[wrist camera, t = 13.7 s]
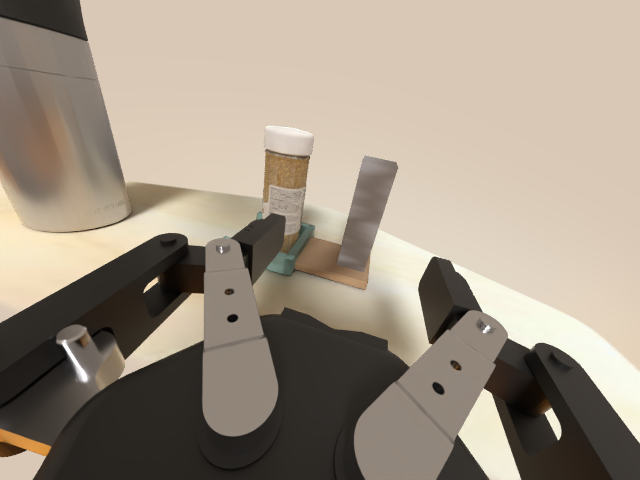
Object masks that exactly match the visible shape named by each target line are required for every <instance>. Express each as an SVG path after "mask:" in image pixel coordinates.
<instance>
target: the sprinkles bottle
mask: <svg viewBox="0 0 640 480" xmlns="http://www.w3.org/2000/svg"><path fill="white" fill-rule="evenodd" d="M313 141H314V136H313V134H312V133H310V132H307V131H304V130H300V129H295V128H291V127H284V126H267V127H266V128H265V136H264V147H265V148H266V150H265V152H266V156H265V178H264V190H263V205H262V219H265V218H266V217H267V216H269V215H270V214H271V213H275V214H279V215H283V216H285V217H286V224H285V234H284V242H283V246H282V248H281V250H280V252H282V253H286V254H288V252H289V251H290V250H291V248H292V247H293V246H294V244H295V243H296V242H297V240H298V236H299V230H300V227H301V220H302V213H303V205H304V198H305V191H306V178H307V170H308V164H309V159H310V156H309V155H311V154H312V148H313Z"/></svg>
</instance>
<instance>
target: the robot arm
mask: <svg viewBox="0 0 640 480" xmlns="http://www.w3.org/2000/svg"><path fill="white" fill-rule="evenodd" d="M87 41H88V39H87V35H86V31H85V27H84V23H83V18H82V13H81V6H80V0H0V182H1V184H2V186H3V188H4V190H5V192H6V194H7V196H8V198H9V200H10V201H11V203H12V205H13V207H14V209H15V211H16V213H17V215H18V217H19V218H20V220H21V222H22V224H23V225H24V226H26V227H28V228H31V229H34V230H39V231H48V232H70V231H81V230H87V229H94V228H98V227H102V226H106V225H110V224H113V223H116V222H118V221H120V220H122V219H124V218H126V217H127V216H128V215H129V214H130V213H131V211H132V209H131V205H130V201H129V197H128V193H127V189H126V185H125V181H124V177H123V173H122V169H121V165H120V161H119V158H118V154H117V150H116V146H115V142H114V138H113V134H112V130H111V127H110V123H109V119H108V115H107V111H106V107H105V104H104V100H103V96H102V92H101V88H100V84H99V81H98V77H97V73H96V69H95V65H94V62H93V58H92V54H91V50H90V46H89V43H88V42H87ZM285 224H286V217H285V216H283V215H279V214H275V213H271V214H270V215H269V216H267V217H266V218H265V219H258V220H255V221H253V222H251V223H250V224H249V225H248V226H246V227H245V228H244V229H242V230H241V231H240V232H238V233H237V234H236V235H234V236H233V237H232V238H230V239H228V238H220V239H215V240H212V241H210V242H209V243H208V244H207V245H206V247H203V246H191V245H188V239H187V237H186V236H184V235H182V234H178V233H167V234H161V235H158V236H156V237H154V238H152V239H150V240H148V241H146V242H145V243H143V244H141V245H139V246H137V247H136V248H134V249H132V250H130V251H128V252H127V253H125V254H123V255H121V256H119V257H118V258H116V259H114V260H112V261H111V262H109V263H107V264H105V265H103V266H102V267H100V268H98V269H96V270H94V271H93V272H91V273H89V274H87V275H85V276H84V277H82V278H80V279H78V280H77V281H75V282H73V283H71V284H69V285H68V286H66V287H64V288H62V289H60V290H59V291H57V292H55V293H53V294H51V295H50V296H48V297H46V298H44V299H43V300H41V301H39V302H37V303H35V304H34V305H32V306H30V307H28V308H26V309H25V310H23V311H21V312H19V313H17V314H16V315H14V316H12V317H10V318H9V319H7V320H5V321H3V322H1V323H0V457H8V456H13V455H16V454H19V453H22V452H24V451H26V450H29V451H32V452H35V453H37V454H40V455H43V456H46V458H45V460H44V462H43V463H42V465H41V467H40V469H39V470H38V472H37V474H36V475H35V477H34V478H33V480H489V478H488V477H487V475H486V474H485V473H484V471H483V470H482V468H481V467H480V465H479V464H478V463H477V461H476V460H475V458H474V457H473V456H472V454H471V453H470V451H469V450H468V448H467V447H466V446H465V444H464V443H463V441H462V440H461V439H460V437H459V436H458V433H459V431H460V429H461V427H462V425H463V424H464V422H465V420H466V418H467V416H468V415H469V413H470V411H471V409H472V407H473V406H474V404H475V402H476V400H477V399H478V397H479V395H480V393H481V391H482V390H483V388H484V389H486V390H487V391H489V392H491V393H492V395H493V398H494V401H495V404H496V407H497V410H498V413H499V416H500V419H501V422H502V425H503V428H504V430H505V433H506V436H507V439H508V442H509V445H510V448H511V451H512V454H513V457H514V460H515V463H516V466H517V468H518V471H519V474H520V477H521V480H640V443H639V442H638V441H637V439H636V438H635V437H634V436H633V434H632V433H631V432H630V430H629V429H628V428H627V426H626V425H625V424H624V422H623V421H622V420H621V418H620V417H619V416H618V414H617V413H616V412H615V410H614V409H613V408H612V406H611V405H610V404H609V402H608V401H607V400H606V398H605V397H604V396H603V394H602V393H601V392H600V390H599V389H598V388H597V386H596V385H595V384H594V382H593V381H592V380H591V378H590V377H589V376H588V374H587V373H586V372H585V370H584V369H583V368H582V367H581V366H580V365H579V364H578V363H577V362H576V361H575V360H574V359H573V358H572V357H570V356H569V355H568V354H566V353H565V352H563V351H561V350H560V349H558V348H556V347H554V346H551V345H549V344H545V343H537V344H536V345H535V346H534V347H533V348H532V349H531V350H530V349H528V348H526V347H524V346H522V345H520V344H518V343H516V342H514V341H512V340H510V339H508V334H507V332H506V330H505V328H504V327H503V326H502V325H501V324H500V323H499V322H498V321H497V320H495V319H494V318H492V317H491V316H489V315H487V314H485V313H483V312H482V310H481V308H480V306H479V304H478V302H477V300H476V298H475V296H474V295H473V293H472V291H471V289H470V287H469V285H468V283H467V281H466V280H465V279H464V278H463V277H462V276H461V275H460V274H459V273H457V272H455V269H454V267H453V265H452V263H451V261H449V260H446V259H442V258H438V257H433V258H432V259H431V260H430V262H429V264H428V266H427V268H426V270H425V272H424V274H423V276H422V278H421V280H420V283H419V288H418V291H419V296H420V301H421V306H422V311H423V316H424V321H425V326H426V330H427V335H428V340H429V343H430V344H433V345H432V346H431V347H430V348H429V349H428V350H427V351H426V352H425V353H424V354H423V355H422V356H421V357H420V358H419V359H418V360H417V361H416V362H415V363H414V364H413V365H412V366H411V367H410V368H409V366H408V365H407V364H406V363H405V362H404V361H402V360H401V359H400V358H399V357H398V356H396V355H395V354H393V353H392V352H390V351H389V350H388V341H387V340H384V339H381V338H378V337H375V336H372V335H369V334H366V333H363V332H356V331H346V330H336V329H332V328H330V327H329V326H327V325H325V324H323V323H322V322H320V321H318V320H317V319H315V318H313V317H311V316H310V315H307V314H304V313H301V312H298V311H295V310H292V309H288V308H284V310H283V312H282V314H281V315H278V314H271V315H263V316H259V313H258V309H257V304H256V300H255V296H254V292H253V287H252V286H253V284H254V283H255V282H256V281H257V279H258V278H259V277H260V276H261V274H262V273H263V272H264V270H265V269H266V268H267V267H268V265H269V264H270V263H271V262H272V260H273V259H274V258H275V257H276V255H277V254H278V253H279V252H280V250H281V248H282V246H283V242H284V234H285ZM156 277H157V278H158V283H156V284H155V285H154V286H152V287H151V288H150V289H149V290H147V291H146V292H145V293H144V294H143V292H144V289H145V287H146V286H147V285H148V283H150V282H151V281H152V280H153V279H155V278H156ZM192 293H202V294H204V340H203V341H201V342H199V343H197V344H195V345H192V346H190V347H188V348H186V349H183V350H181V351H179V352H177V353H175V354H172V355H170V356H168V357H166V358H164V359H161V360H159V361H157V362H155V363H152V364H150V365H148V366H146V367H144V368H141V369H139V370H137V371H135V372H132V373H130V374H128V375H126V376H124V377H122V378H120V379H118V378H119V377H120V376H121V374H122V372H123V370H124V368H125V360H126V359H127V358H128V357H129V356H130V355H131V354H132V353H133V352H134V351H135V350H136V349H137V348H138V347H139V346H140V345H141V344H142V343H143V342H144V341H145V340H146V339H147V338H148V337H149V336H150V335H151V334H152V333H153V332H154V331H155V330H156V329H157V328H158V327H159V326H160V325H161V324H162V323H163V322H164V321H165V320H166V319H167V318H168V317H169V316H170V315H171V314H172V313H173V312H174V311H175V310H176V309H177V308H178V307H179V306H180V305H181V304H182V303H183V302H184V301H185V300H186V299H187V298H188V297H189V296H190V295H191V294H192ZM550 408H552V409H553V411H554V413H555V415H556V416H557V418H558V420H559V422H560V425H561V430H562V433H561V437H560V439H559V440H558V439H557V437H556V435H555V433H554V431H553V429H552V427H551V425H550V423H549V422H548V420H547V418H546V416H545V414H544V413H545V412H546V411H548V410H549V409H550Z"/></svg>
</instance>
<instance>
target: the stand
mask: <svg viewBox="0 0 640 480" xmlns="http://www.w3.org/2000/svg"><path fill="white" fill-rule="evenodd" d="M397 169H398V166H397V163H396V162H392V161H388V160H383V159H378V158H373V157H368V156H365V157H364V158H363V160H362V164H361V168H360V172H359V177H358V180H357V184H356V189H355V192H354V196H353V201H352V205H351V209H350V213H349V217H348V221H347V225H346V229H345V233H344V237H343V241H342V245H339V244H336V243H332V242H328V241H324V240H321V239H317V238H313V234H314V229H315V226H313V225H309V224H305V223H302V222H301V227H300V230H299V236H298V238H299V239H298V240H297V242H296V243H295V244H294V246H293V247H292V248H291V250H290V251H289V252H288V254H286V253H282V252H279V253H278V254H277V255H276V257H275V258H274V259H273V260H272V262H271V263H270V264H269V265H268V267H267V268H266V269H268V270H271V271H274V272H278V273H281V274H285V275H288V276H290V275H291V274H292V272H293V271H294V269H296V270H299V271H303V272H306V273H309V274H313V275H316V276H320V277H323V278H326V279H330V280H333V281H337V282H340V283H344V284H347V285H350V286H354V287H357V288H361V289H364V290H365V289H366V286H367V283H368V274H369V264H370V254H371V253H370V252H371V249H372V246H373V243H374V240H375V237H376V234H377V231H378V227H379V224H380V221H381V218H382V215H383V212H384V209H385V206H386V203H387V200H388V197H389V194H390V191H391V188H392V185H393V182H394V178H395V175H396V172H397ZM258 219H262V212H259V213H257V220H258ZM224 238H228V239H230V237H226V236H225V237H224Z"/></svg>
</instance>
